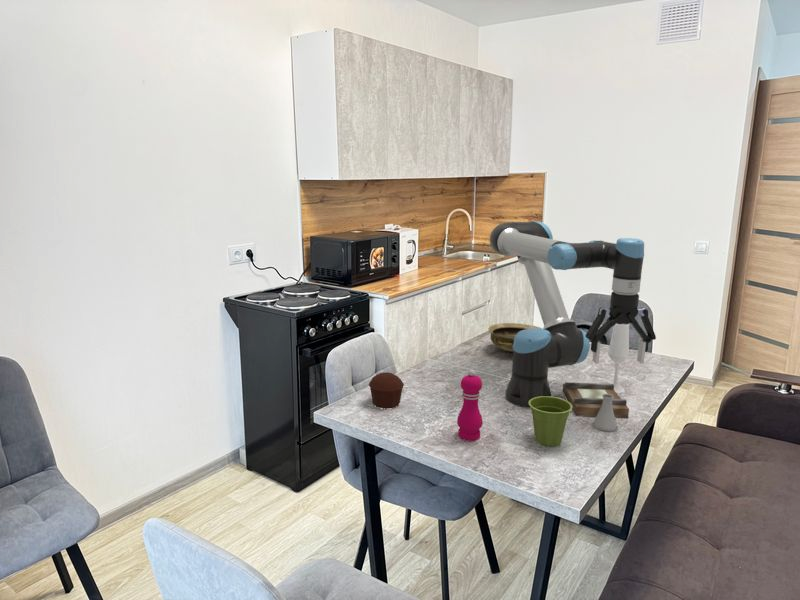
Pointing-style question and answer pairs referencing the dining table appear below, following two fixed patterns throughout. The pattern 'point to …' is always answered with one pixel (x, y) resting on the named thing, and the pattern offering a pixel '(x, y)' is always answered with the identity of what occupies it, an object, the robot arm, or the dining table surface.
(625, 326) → the champagne flute
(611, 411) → the flask
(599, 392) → the dock
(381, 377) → the muffin
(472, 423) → the pepper mill
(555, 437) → the plant pot
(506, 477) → the dining table surface
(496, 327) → the ceramic bowl
